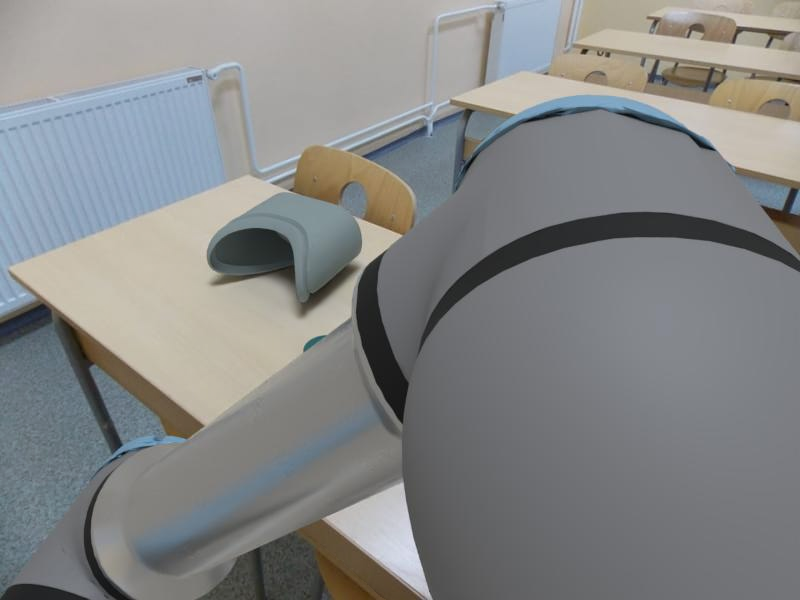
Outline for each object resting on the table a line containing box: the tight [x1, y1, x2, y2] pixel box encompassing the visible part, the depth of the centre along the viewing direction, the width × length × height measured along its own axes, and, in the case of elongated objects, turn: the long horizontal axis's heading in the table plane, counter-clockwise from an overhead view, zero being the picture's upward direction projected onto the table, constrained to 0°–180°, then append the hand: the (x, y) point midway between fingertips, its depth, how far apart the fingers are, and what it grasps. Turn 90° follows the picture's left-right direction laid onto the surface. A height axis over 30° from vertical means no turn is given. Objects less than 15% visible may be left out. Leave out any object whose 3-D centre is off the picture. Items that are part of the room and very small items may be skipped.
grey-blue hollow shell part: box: [206, 191, 363, 303], centre depth 96 cm, size 22×19×13 cm
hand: (510, 458), depth 58 cm, fingers closed
